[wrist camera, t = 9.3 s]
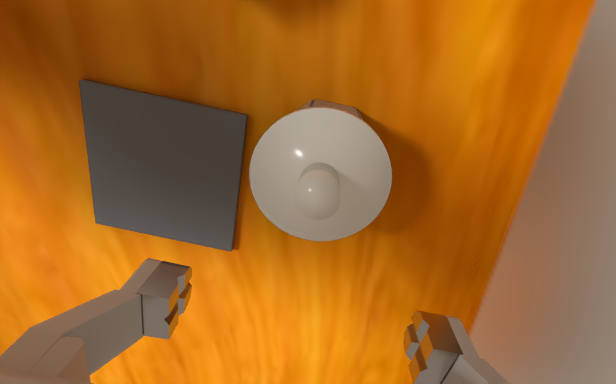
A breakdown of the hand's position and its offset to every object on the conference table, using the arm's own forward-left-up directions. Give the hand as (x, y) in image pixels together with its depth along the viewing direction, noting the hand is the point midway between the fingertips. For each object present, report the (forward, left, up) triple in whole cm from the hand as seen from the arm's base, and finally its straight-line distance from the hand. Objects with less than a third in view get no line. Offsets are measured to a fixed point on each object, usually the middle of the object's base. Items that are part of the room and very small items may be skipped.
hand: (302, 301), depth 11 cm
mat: (-14, -5, -18) cm, 23 cm away
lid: (0, 0, -13) cm, 13 cm away
